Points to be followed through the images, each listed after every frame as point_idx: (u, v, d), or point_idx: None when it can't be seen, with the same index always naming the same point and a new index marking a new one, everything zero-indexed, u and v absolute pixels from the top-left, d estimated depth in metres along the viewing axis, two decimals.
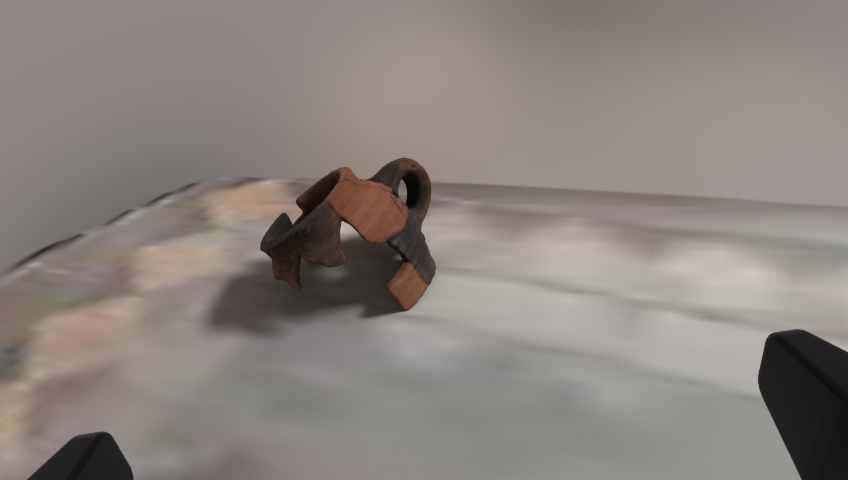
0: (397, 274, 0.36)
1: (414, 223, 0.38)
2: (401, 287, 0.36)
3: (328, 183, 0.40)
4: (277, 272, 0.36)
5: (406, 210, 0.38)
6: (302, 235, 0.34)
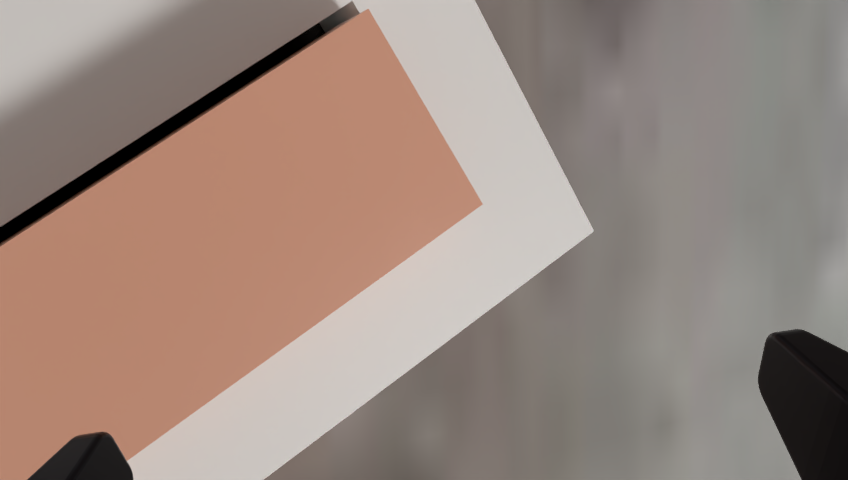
0: None
1: None
2: None
3: None
4: None
5: None
6: None
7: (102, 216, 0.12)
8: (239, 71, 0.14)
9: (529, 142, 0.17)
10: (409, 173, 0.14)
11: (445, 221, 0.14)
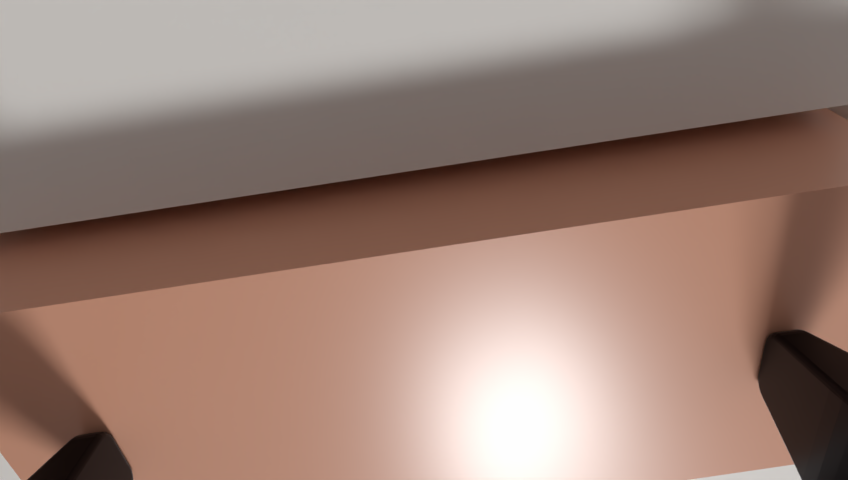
0: None
1: None
2: None
3: None
4: None
5: None
6: None
7: (365, 298, 0.07)
8: (648, 134, 0.08)
9: None
10: None
11: (780, 458, 0.10)
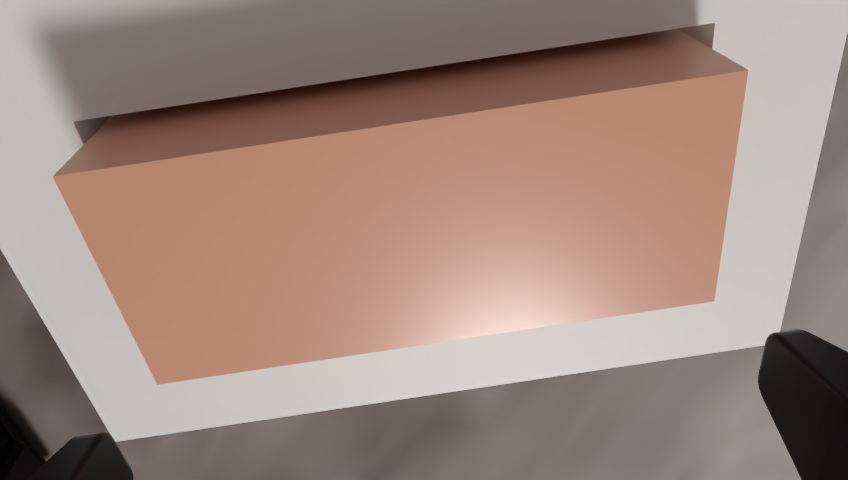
0: None
1: None
2: None
3: None
4: None
5: None
6: None
7: (363, 159, 0.11)
8: (555, 46, 0.12)
9: (781, 240, 0.15)
10: (669, 245, 0.12)
11: (669, 300, 0.13)
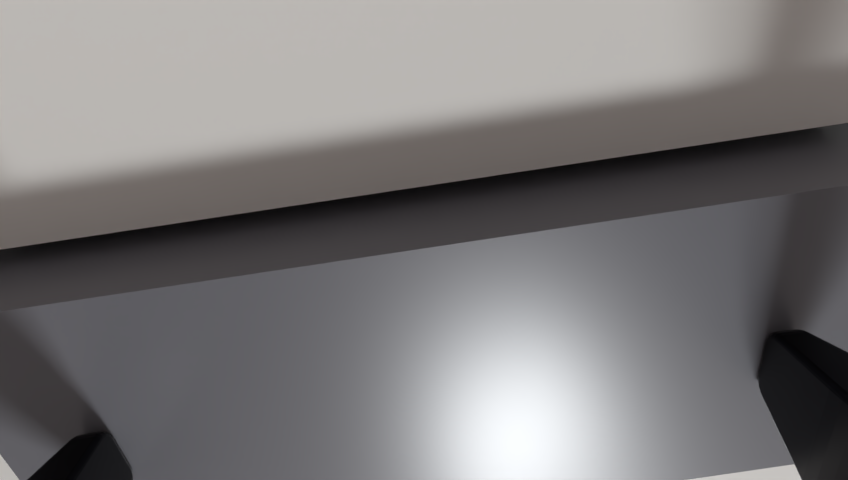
0: None
1: None
2: None
3: None
4: None
5: None
6: None
7: None
8: None
9: None
10: None
11: None
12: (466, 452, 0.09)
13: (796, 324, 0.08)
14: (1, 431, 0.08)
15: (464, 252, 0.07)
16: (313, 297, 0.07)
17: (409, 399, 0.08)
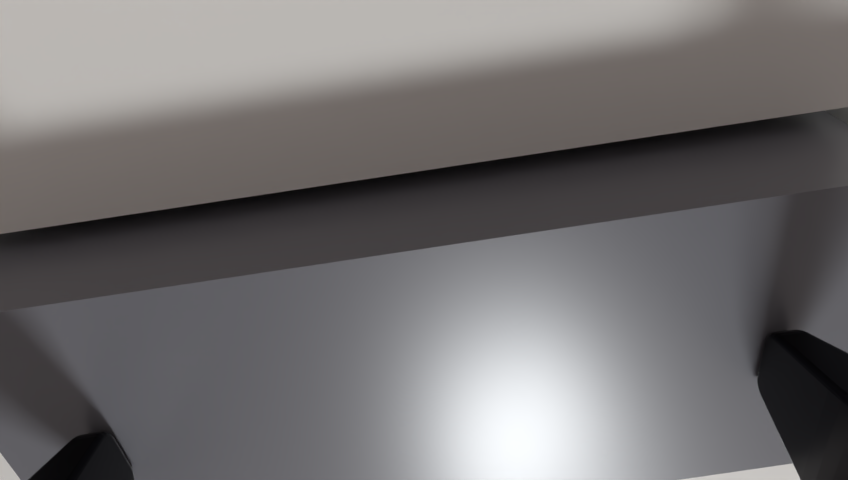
0: None
1: None
2: None
3: None
4: None
5: None
6: None
7: None
8: None
9: None
10: None
11: None
12: (465, 451, 0.09)
13: (792, 324, 0.08)
14: (2, 430, 0.08)
15: (462, 252, 0.07)
16: (312, 298, 0.07)
17: (407, 399, 0.08)
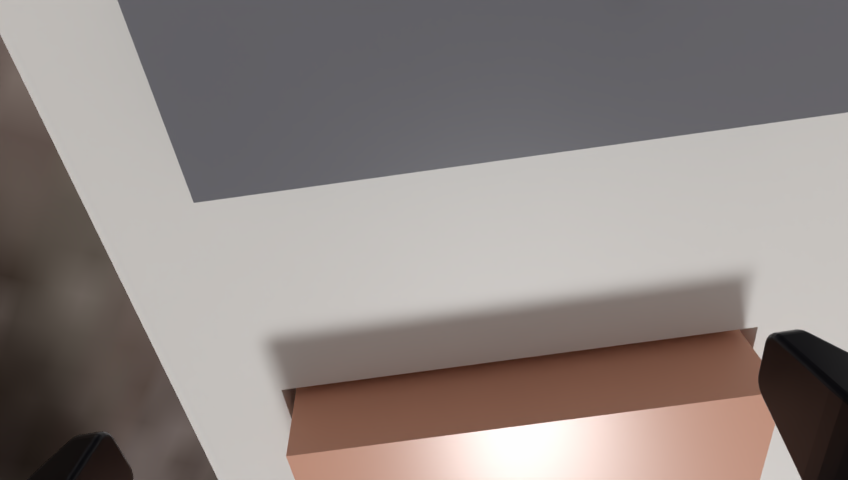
0: None
1: None
2: None
3: None
4: None
5: None
6: None
7: (504, 443, 0.15)
8: (639, 342, 0.16)
9: None
10: None
11: None
12: (530, 81, 0.11)
13: None
14: (142, 25, 0.10)
15: None
16: None
17: (487, 12, 0.10)
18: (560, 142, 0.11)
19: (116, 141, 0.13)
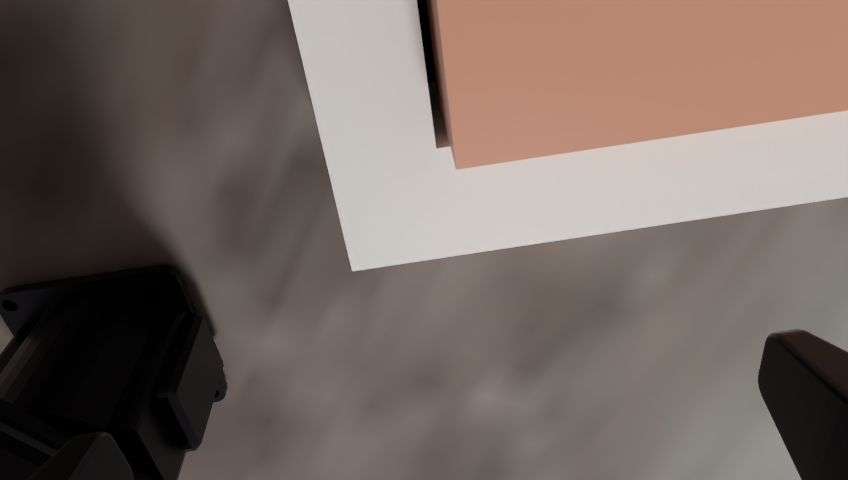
0: None
1: None
2: None
3: None
4: None
5: None
6: None
7: None
8: None
9: None
10: None
11: None
12: None
13: None
14: None
15: None
16: None
17: None
18: None
19: None
